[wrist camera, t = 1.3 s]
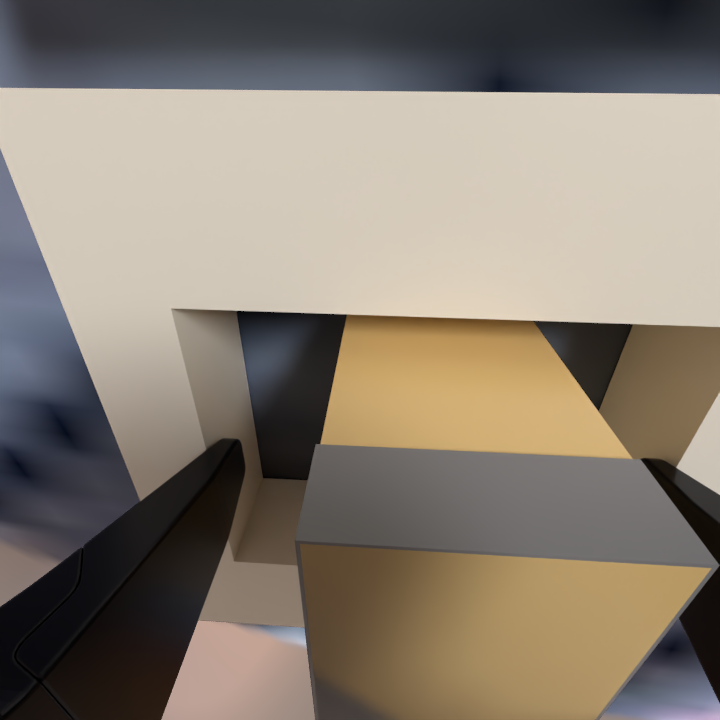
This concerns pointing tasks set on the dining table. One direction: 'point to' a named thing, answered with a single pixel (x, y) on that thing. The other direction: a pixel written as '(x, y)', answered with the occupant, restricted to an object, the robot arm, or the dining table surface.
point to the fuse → (479, 533)
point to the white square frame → (365, 256)
